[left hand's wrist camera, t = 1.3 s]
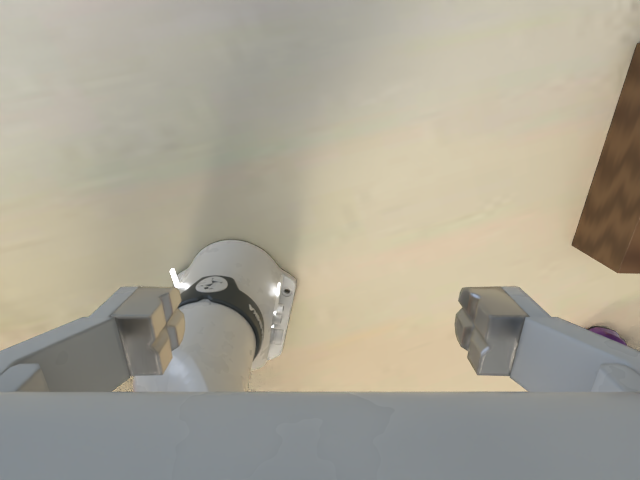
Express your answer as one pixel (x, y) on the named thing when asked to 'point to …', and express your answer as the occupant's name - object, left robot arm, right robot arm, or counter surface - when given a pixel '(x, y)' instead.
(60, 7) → the counter surface
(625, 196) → the box
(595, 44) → the counter surface
